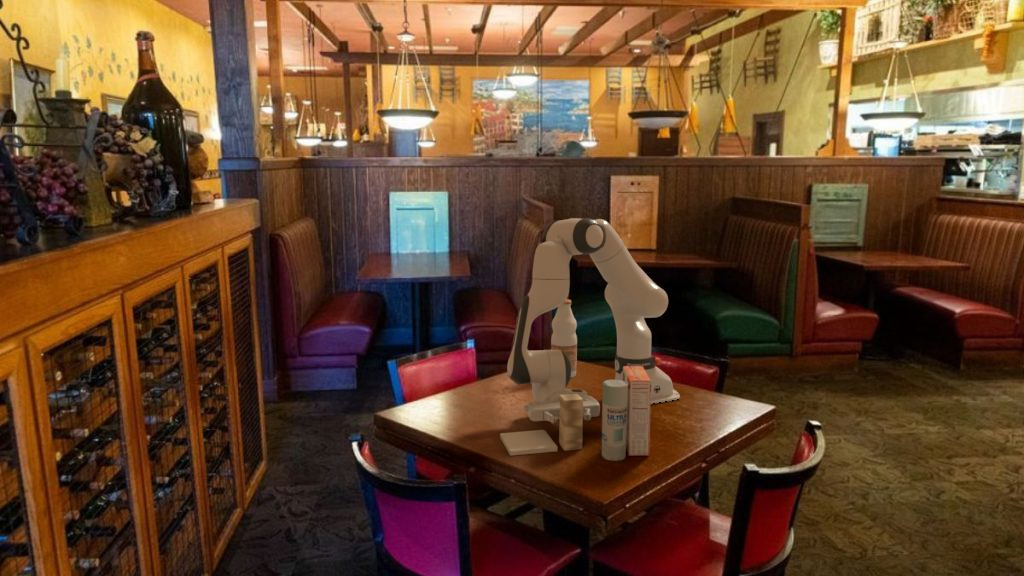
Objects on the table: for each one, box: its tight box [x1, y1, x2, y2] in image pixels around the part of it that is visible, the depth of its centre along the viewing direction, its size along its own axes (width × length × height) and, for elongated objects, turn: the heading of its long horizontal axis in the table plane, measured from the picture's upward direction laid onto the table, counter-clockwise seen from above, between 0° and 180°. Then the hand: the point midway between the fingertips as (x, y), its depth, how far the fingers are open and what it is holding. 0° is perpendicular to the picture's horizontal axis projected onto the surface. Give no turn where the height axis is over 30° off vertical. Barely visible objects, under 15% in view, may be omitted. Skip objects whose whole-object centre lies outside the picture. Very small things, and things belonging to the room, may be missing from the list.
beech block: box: [558, 394, 584, 452], centre depth 192 cm, size 5×5×14 cm
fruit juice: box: [550, 298, 578, 379], centre depth 257 cm, size 9×9×28 cm
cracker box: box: [623, 366, 651, 457], centre depth 191 cm, size 14×6×21 cm, turn 178°
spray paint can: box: [601, 379, 628, 462], centre depth 185 cm, size 6×6×20 cm
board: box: [499, 429, 558, 456], centre depth 194 cm, size 13×13×1 cm
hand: (571, 419), depth 191 cm, fingers open, 8 cm apart
